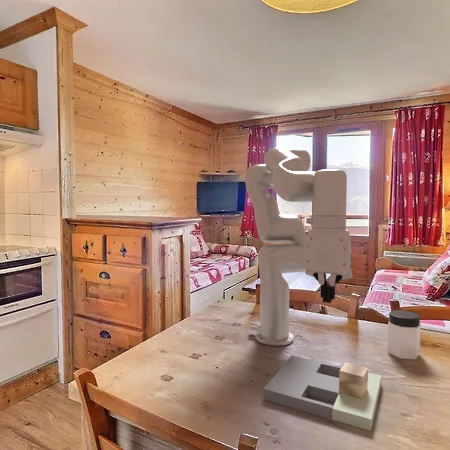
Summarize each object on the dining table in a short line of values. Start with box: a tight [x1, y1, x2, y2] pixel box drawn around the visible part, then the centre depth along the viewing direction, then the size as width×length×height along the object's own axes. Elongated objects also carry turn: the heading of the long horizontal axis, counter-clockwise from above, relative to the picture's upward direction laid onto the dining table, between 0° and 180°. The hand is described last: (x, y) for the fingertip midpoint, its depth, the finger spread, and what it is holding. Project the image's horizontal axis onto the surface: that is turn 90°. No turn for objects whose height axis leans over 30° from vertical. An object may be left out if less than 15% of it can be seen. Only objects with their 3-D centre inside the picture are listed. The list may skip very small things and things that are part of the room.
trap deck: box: [262, 355, 382, 432], centre depth 82 cm, size 23×20×2 cm
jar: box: [387, 309, 422, 360], centre depth 103 cm, size 9×8×12 cm
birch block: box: [338, 361, 369, 399], centre depth 78 cm, size 5×5×5 cm
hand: (327, 301), depth 81 cm, fingers closed
